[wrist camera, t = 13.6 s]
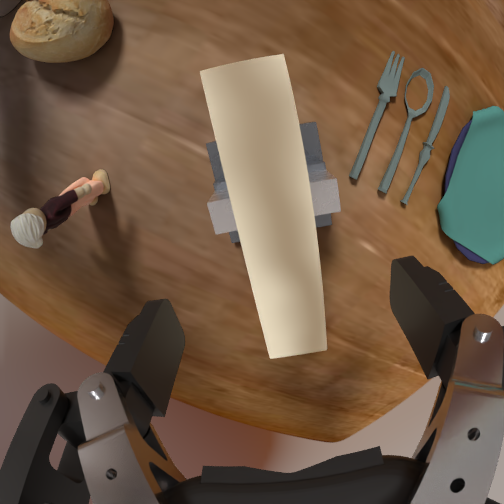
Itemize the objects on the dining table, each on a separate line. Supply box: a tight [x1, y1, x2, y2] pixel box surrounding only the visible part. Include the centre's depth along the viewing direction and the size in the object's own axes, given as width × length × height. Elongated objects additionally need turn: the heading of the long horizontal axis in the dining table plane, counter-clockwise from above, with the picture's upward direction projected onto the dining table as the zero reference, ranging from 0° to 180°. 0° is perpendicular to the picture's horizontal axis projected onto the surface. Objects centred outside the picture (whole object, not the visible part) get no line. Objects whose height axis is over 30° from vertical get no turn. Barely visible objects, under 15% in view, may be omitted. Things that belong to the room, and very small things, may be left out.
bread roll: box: [10, 0, 114, 63], centre depth 15 cm, size 10×15×8 cm, turn 60°
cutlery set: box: [349, 51, 504, 265], centre depth 23 cm, size 20×30×2 cm, turn 71°
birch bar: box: [200, 54, 327, 359], centre depth 17 cm, size 4×18×5 cm, turn 12°
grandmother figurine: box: [11, 170, 110, 248], centre depth 21 cm, size 8×4×13 cm, turn 130°
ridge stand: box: [206, 122, 341, 243], centre depth 23 cm, size 10×10×8 cm
